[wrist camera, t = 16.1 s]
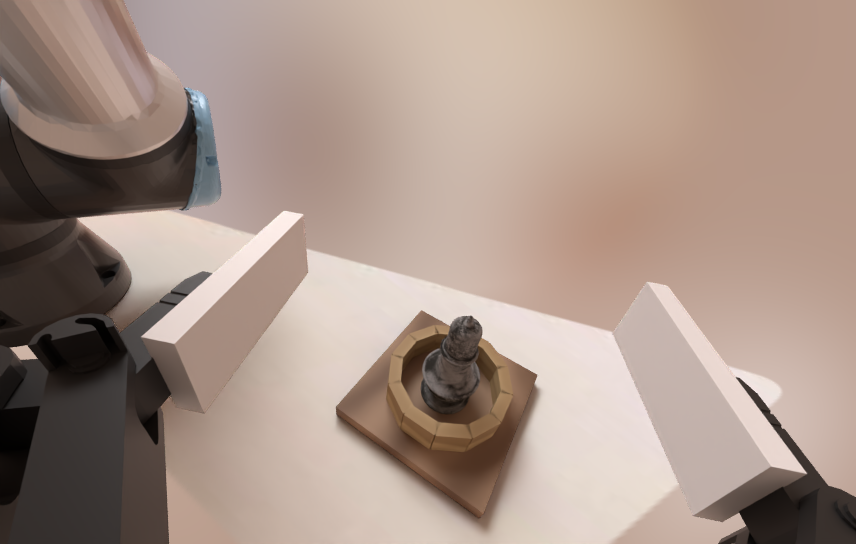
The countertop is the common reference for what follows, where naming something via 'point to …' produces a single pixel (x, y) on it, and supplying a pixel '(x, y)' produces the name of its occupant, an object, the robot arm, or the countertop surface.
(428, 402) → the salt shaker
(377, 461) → the countertop surface
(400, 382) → the collar stand
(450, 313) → the countertop surface
